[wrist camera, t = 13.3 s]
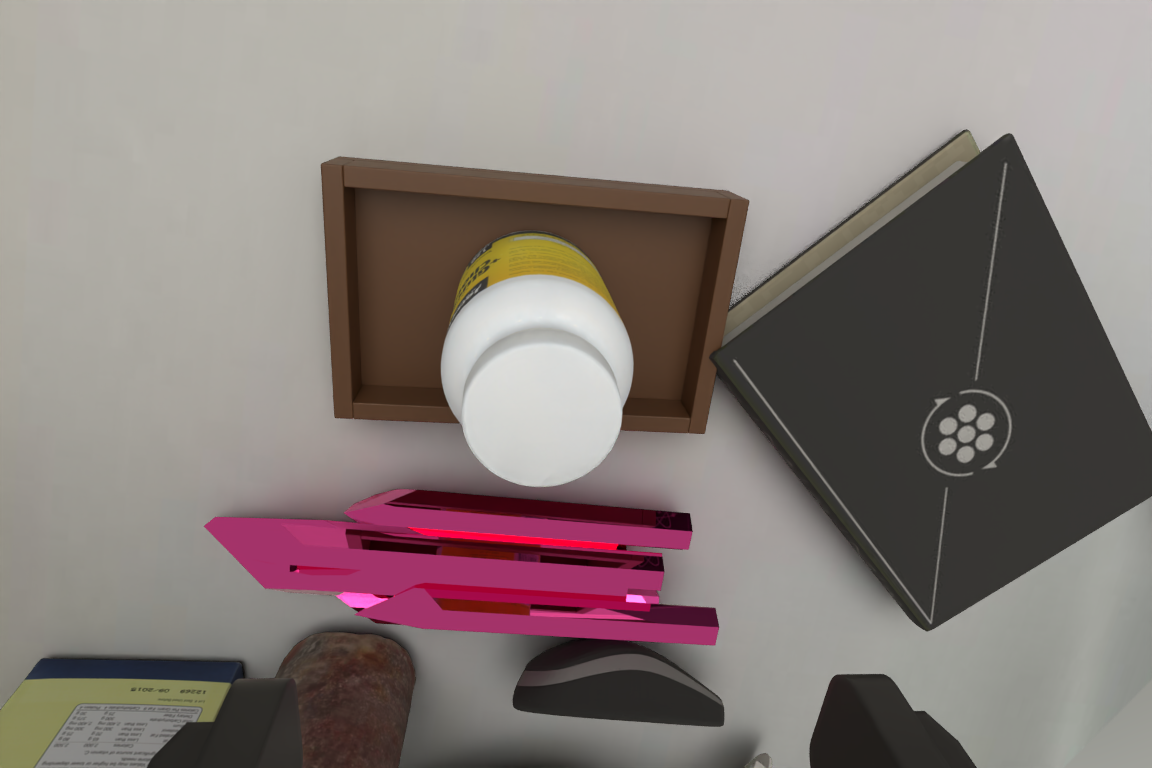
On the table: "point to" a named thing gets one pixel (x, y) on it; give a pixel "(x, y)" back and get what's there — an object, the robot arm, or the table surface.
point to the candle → (351, 699)
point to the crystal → (481, 565)
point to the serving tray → (491, 210)
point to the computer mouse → (614, 685)
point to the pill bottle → (536, 360)
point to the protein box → (107, 710)
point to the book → (944, 382)
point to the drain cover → (760, 762)
